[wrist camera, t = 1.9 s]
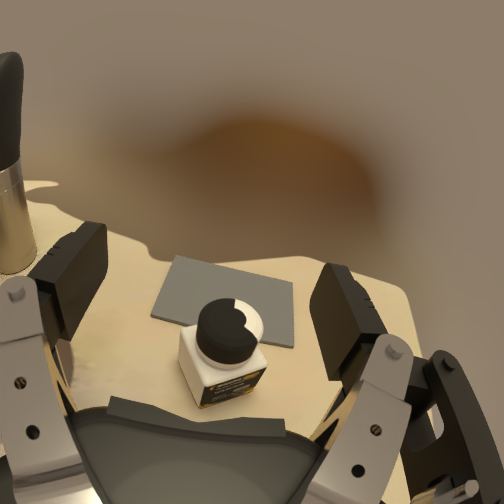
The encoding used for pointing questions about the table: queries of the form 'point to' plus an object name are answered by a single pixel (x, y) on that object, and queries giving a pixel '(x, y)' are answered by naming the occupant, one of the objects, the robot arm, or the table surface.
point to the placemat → (226, 286)
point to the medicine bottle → (222, 352)
